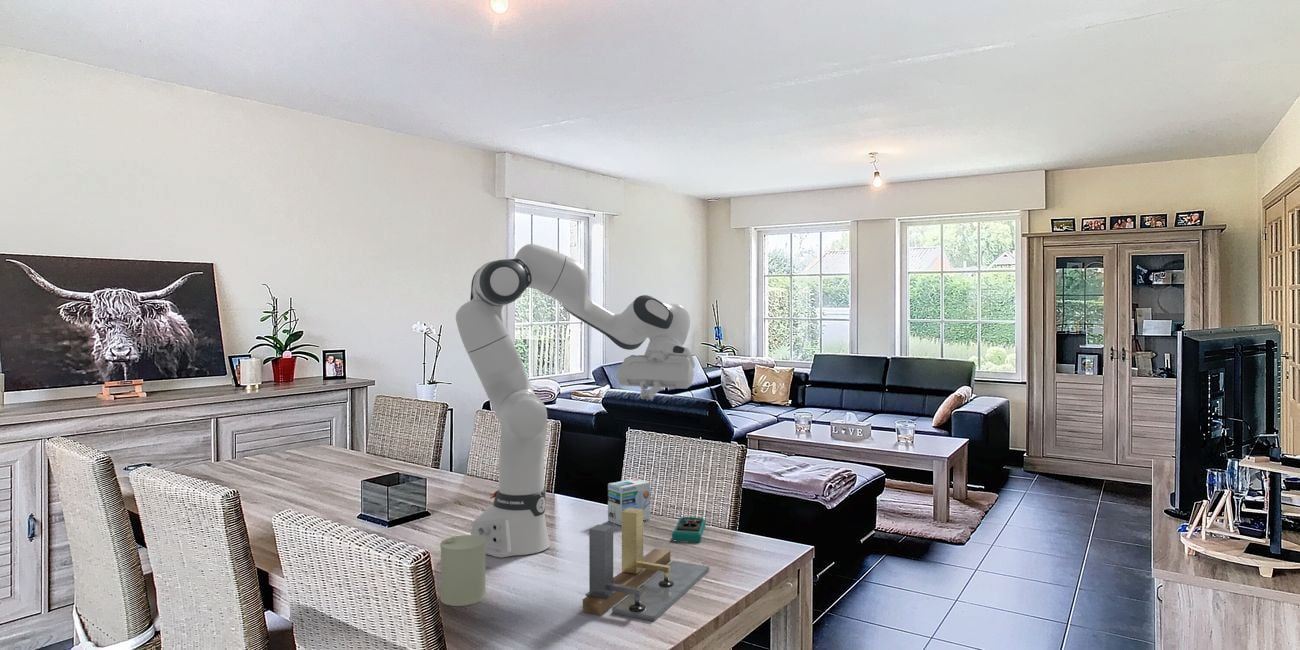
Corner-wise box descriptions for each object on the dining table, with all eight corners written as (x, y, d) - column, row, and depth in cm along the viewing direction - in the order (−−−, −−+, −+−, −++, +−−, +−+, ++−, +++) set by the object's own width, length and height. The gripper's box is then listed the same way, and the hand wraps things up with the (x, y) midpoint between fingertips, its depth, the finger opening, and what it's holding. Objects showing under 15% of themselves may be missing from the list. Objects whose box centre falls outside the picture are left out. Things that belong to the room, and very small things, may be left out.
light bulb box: (621, 526, 201) (621, 487, 200) (606, 521, 206) (606, 483, 205) (651, 519, 208) (651, 481, 207) (635, 514, 213) (635, 477, 213)
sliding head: (621, 576, 158) (621, 511, 158) (629, 571, 162) (629, 507, 161) (666, 584, 154) (666, 517, 154) (672, 579, 157) (672, 513, 157)
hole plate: (612, 613, 143) (612, 607, 143) (672, 564, 171) (672, 559, 171) (654, 621, 140) (654, 615, 140) (709, 570, 167) (709, 565, 167)
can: (445, 589, 156) (444, 533, 155) (489, 588, 156) (489, 532, 156) (436, 607, 146) (435, 547, 146) (483, 605, 147) (482, 546, 147)
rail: (582, 612, 144) (582, 599, 144) (655, 558, 175) (655, 548, 175) (600, 615, 142) (600, 602, 142) (670, 561, 173) (670, 550, 173)
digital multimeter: (705, 527, 202) (705, 516, 201) (700, 544, 187) (700, 533, 187) (679, 526, 203) (679, 515, 203) (671, 543, 188) (671, 531, 188)
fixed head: (585, 600, 146) (585, 529, 145) (596, 592, 150) (596, 523, 149) (635, 610, 141) (635, 536, 141) (645, 601, 145) (645, 530, 145)
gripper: (622, 347, 194) (604, 387, 185) (694, 348, 185) (679, 391, 177) (630, 363, 198) (613, 403, 190) (700, 365, 190) (686, 407, 181)
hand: (645, 397), depth 183 cm, fingers closed
